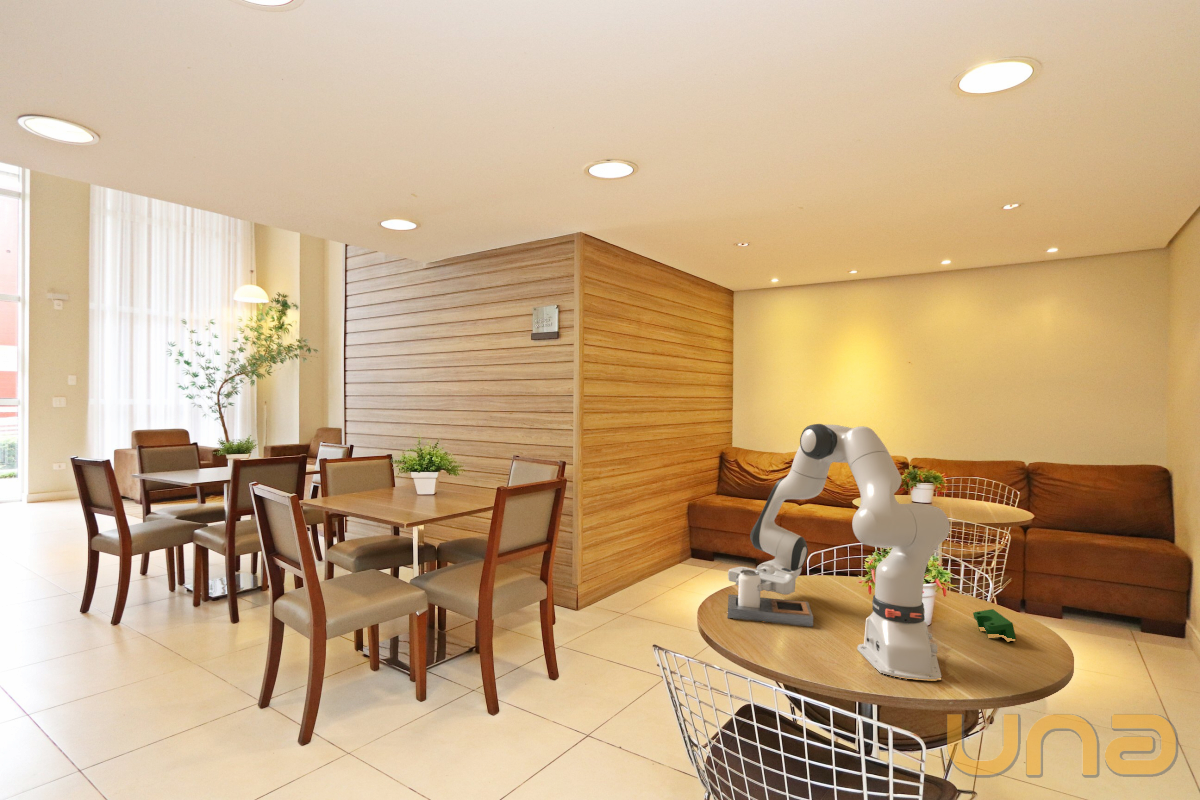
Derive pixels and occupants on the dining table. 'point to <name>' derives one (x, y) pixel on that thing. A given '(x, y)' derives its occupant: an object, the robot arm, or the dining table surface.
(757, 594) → the can
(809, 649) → the dining table surface
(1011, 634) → the clamp
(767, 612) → the grey tray
